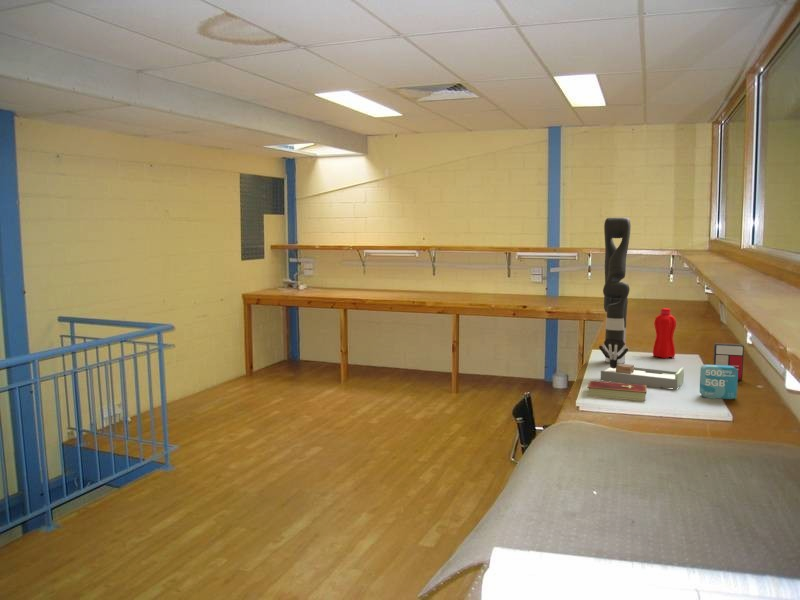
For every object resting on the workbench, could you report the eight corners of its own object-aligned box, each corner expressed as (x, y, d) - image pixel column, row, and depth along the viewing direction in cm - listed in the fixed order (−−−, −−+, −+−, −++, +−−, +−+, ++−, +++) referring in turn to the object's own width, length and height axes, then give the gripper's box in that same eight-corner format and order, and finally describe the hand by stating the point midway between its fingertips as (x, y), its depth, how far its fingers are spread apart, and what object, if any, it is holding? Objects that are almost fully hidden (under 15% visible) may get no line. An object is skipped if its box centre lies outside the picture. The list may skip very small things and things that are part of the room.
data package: (701, 397, 235) (703, 366, 234) (699, 394, 240) (700, 364, 238) (736, 399, 232) (738, 368, 231) (733, 396, 237) (735, 365, 236)
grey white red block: (713, 378, 268) (715, 344, 266) (712, 376, 272) (714, 342, 270) (742, 380, 264) (744, 345, 263) (740, 378, 268) (742, 344, 267)
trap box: (610, 373, 278) (611, 360, 278) (683, 381, 262) (684, 367, 262) (600, 380, 264) (600, 366, 263) (676, 389, 248) (677, 374, 247)
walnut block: (619, 370, 271) (619, 363, 270) (633, 371, 267) (633, 364, 267) (615, 372, 266) (616, 365, 265) (630, 374, 262) (630, 367, 262)
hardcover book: (589, 390, 248) (589, 379, 248) (646, 395, 241) (646, 384, 240) (587, 397, 237) (587, 386, 237) (646, 402, 230) (646, 391, 229)
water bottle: (662, 354, 326) (664, 306, 323) (677, 358, 315) (679, 309, 313) (647, 355, 323) (649, 307, 321) (662, 359, 312) (664, 309, 310)
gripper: (632, 328, 267) (631, 368, 268) (601, 326, 274) (600, 365, 276) (628, 330, 260) (627, 371, 262) (596, 328, 268) (595, 367, 269)
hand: (613, 368), depth 269 cm, fingers closed
